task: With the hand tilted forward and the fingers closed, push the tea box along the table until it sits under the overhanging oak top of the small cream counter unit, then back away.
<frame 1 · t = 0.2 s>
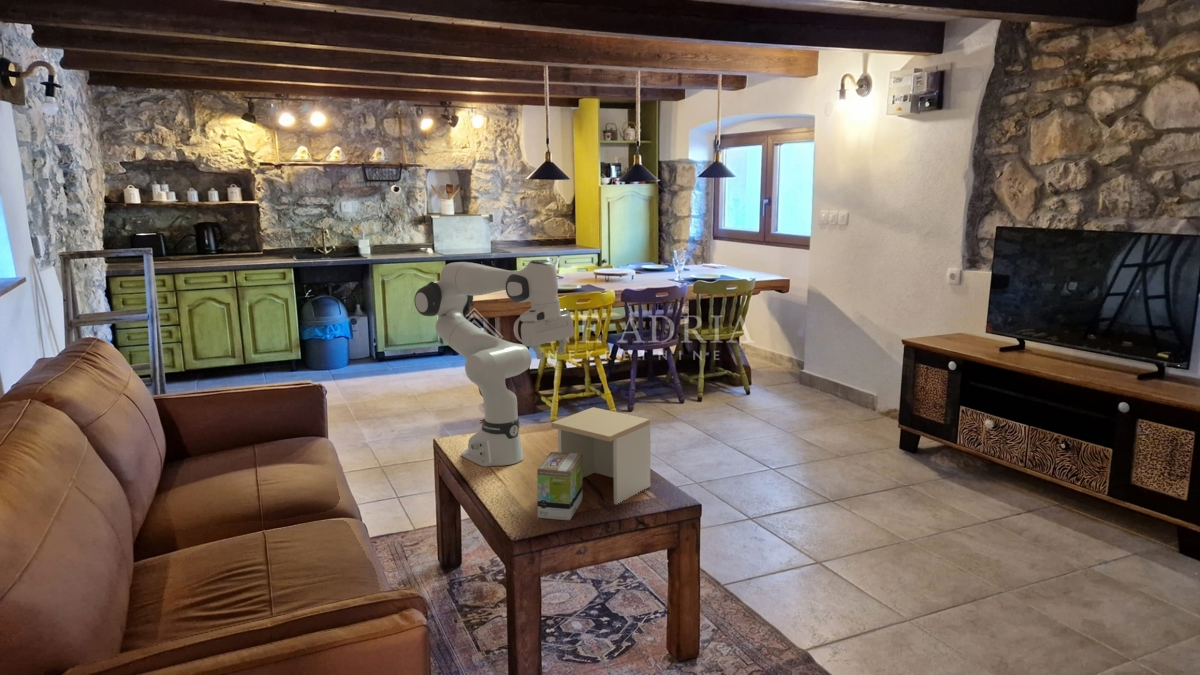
hand: (551, 356, 237), 39 cm above the table, tool pointing down, fingers open, 8 cm apart
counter: (601, 488, 233), on the table
tea box: (561, 509, 219), on the table
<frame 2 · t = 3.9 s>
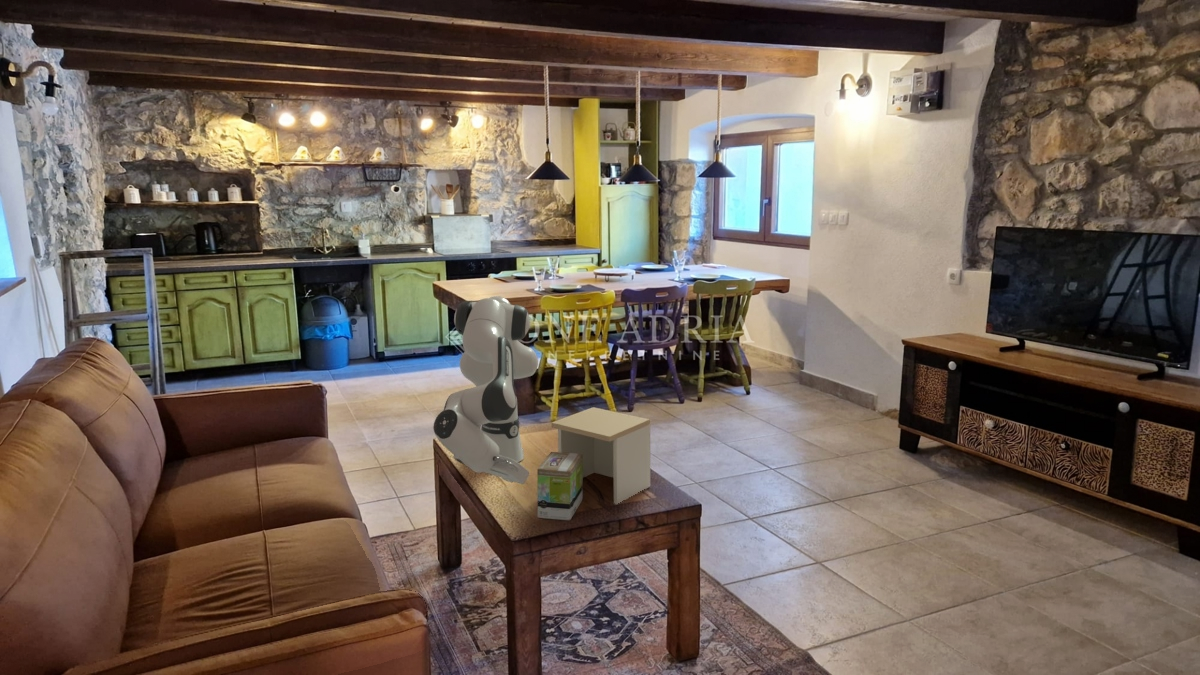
hand: (510, 478, 201), 15 cm above the table, tool tilted 45°, fingers closed
nothing on the table moved.
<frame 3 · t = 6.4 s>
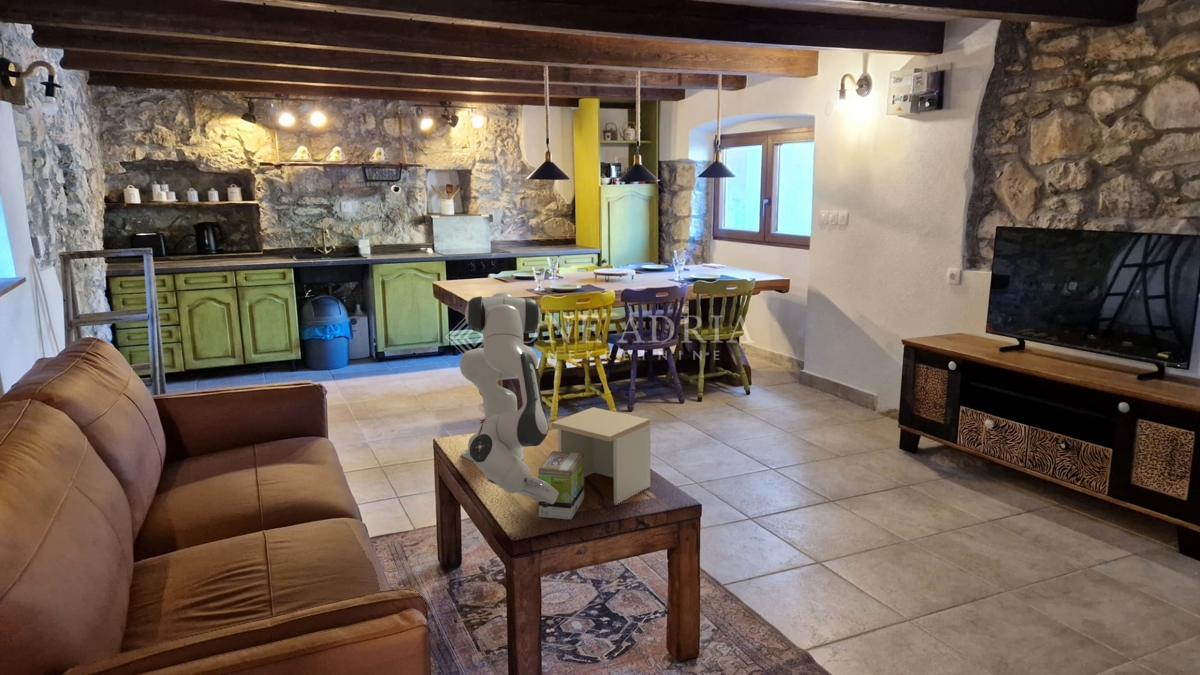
hand: (539, 498, 211), 6 cm above the table, tool tilted 45°, fingers closed
tea box: (562, 508, 219), on the table, touching gripper
everything else where it was.
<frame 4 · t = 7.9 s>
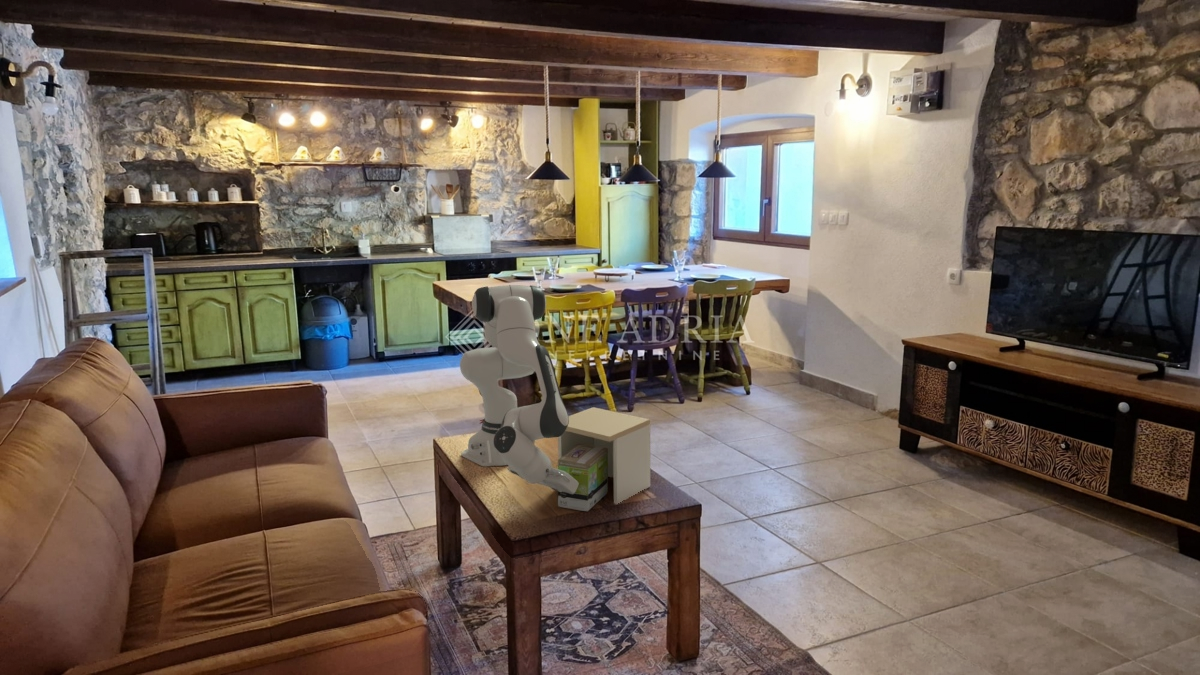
hand: (558, 488, 217), 6 cm above the table, tool tilted 45°, fingers closed
tea box: (583, 500, 224), on the table, touching gripper
everything else where it was.
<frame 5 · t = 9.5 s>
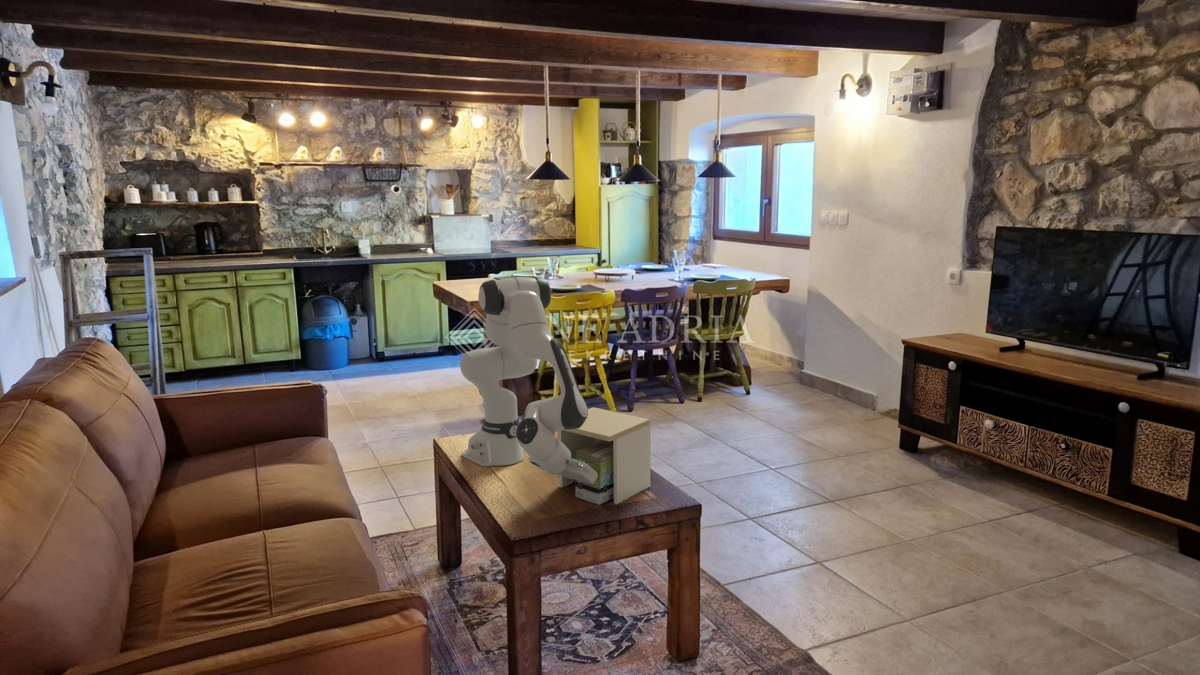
hand: (577, 479, 223), 6 cm above the table, tool tilted 45°, fingers closed, pressing on tea box
tea box: (603, 494, 229), on the table, touching gripper
everything else where it was.
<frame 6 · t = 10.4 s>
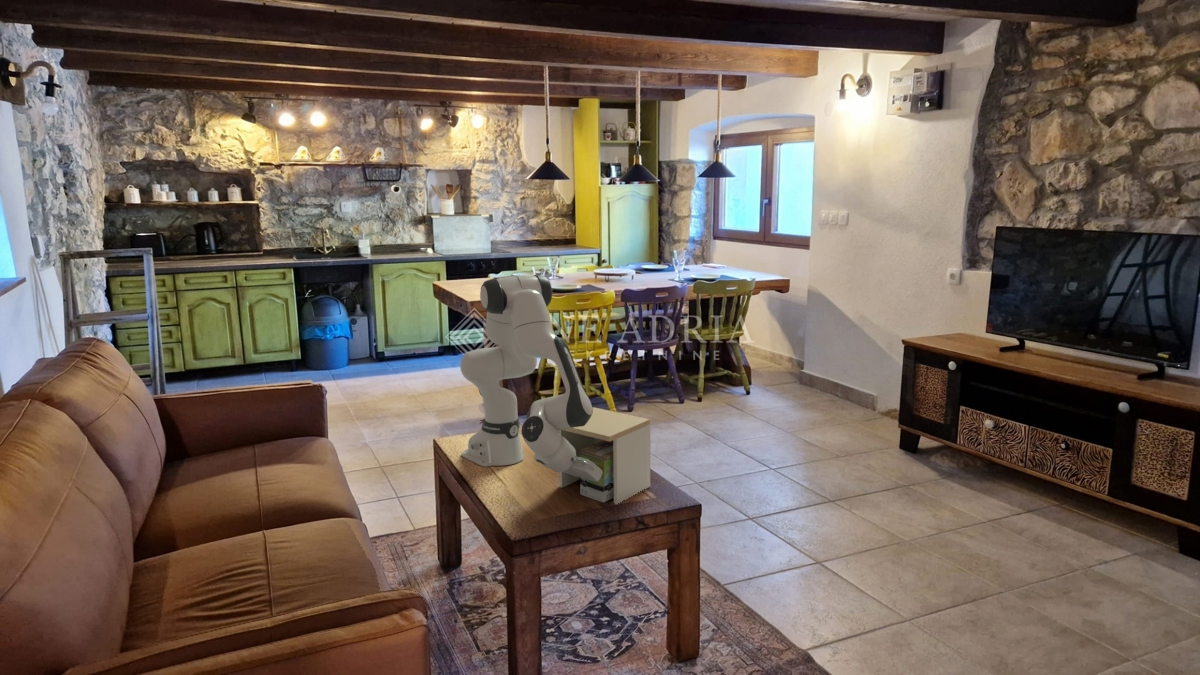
hand: (582, 477, 225), 6 cm above the table, tool tilted 45°, fingers closed
tea box: (608, 492, 230), on the table, touching gripper
everything else where it was.
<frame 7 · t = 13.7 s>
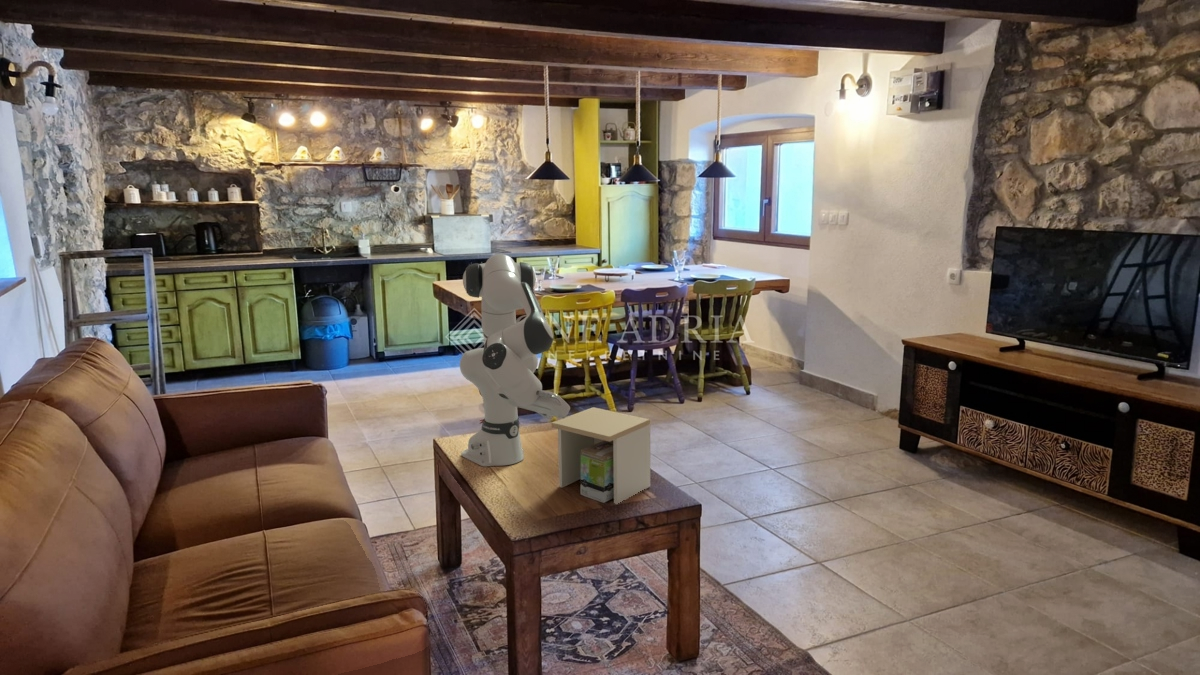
hand: (549, 416, 210), 29 cm above the table, tool tilted 45°, fingers closed
tea box: (608, 492, 230), on the table
everything else where it was.
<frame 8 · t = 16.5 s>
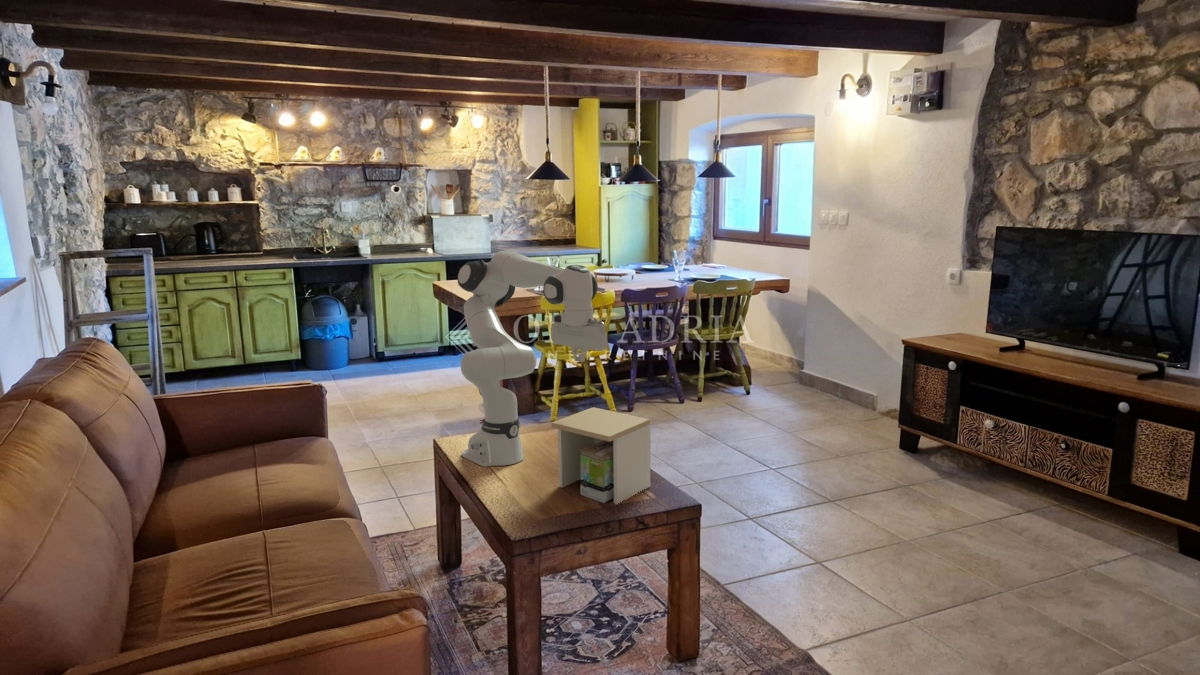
hand: (579, 361, 239), 37 cm above the table, tool pointing down, fingers closed
nothing on the table moved.
at the end: tea box inside the target area on the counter (3.6 cm from its centre), point 0.0 cm above the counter's base; tea box tilted 0°; tea box moved 18.3 cm from its start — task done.
